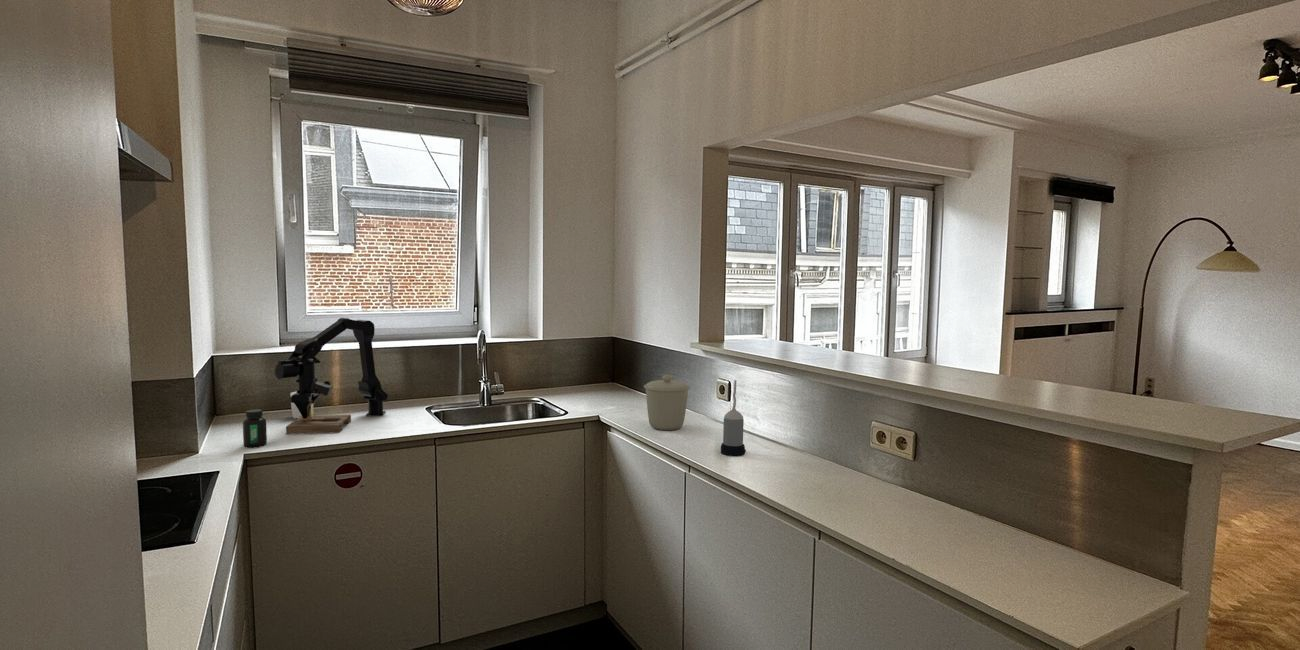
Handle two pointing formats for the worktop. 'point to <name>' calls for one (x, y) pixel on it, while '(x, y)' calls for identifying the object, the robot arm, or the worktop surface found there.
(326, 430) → the keyhole plate
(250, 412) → the supplement bottle
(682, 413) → the canister
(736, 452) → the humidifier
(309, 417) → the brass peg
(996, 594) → the worktop surface
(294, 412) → the white cup
